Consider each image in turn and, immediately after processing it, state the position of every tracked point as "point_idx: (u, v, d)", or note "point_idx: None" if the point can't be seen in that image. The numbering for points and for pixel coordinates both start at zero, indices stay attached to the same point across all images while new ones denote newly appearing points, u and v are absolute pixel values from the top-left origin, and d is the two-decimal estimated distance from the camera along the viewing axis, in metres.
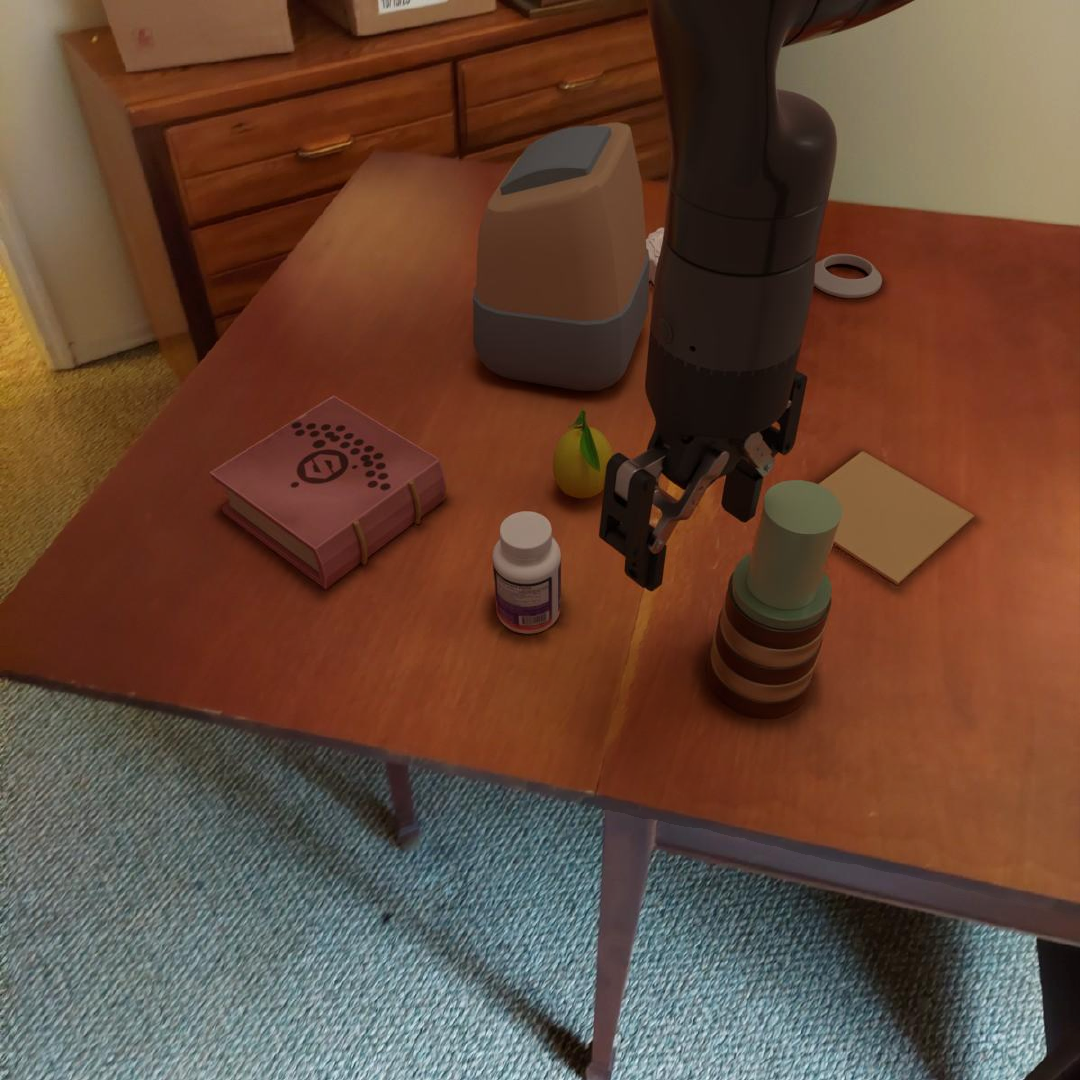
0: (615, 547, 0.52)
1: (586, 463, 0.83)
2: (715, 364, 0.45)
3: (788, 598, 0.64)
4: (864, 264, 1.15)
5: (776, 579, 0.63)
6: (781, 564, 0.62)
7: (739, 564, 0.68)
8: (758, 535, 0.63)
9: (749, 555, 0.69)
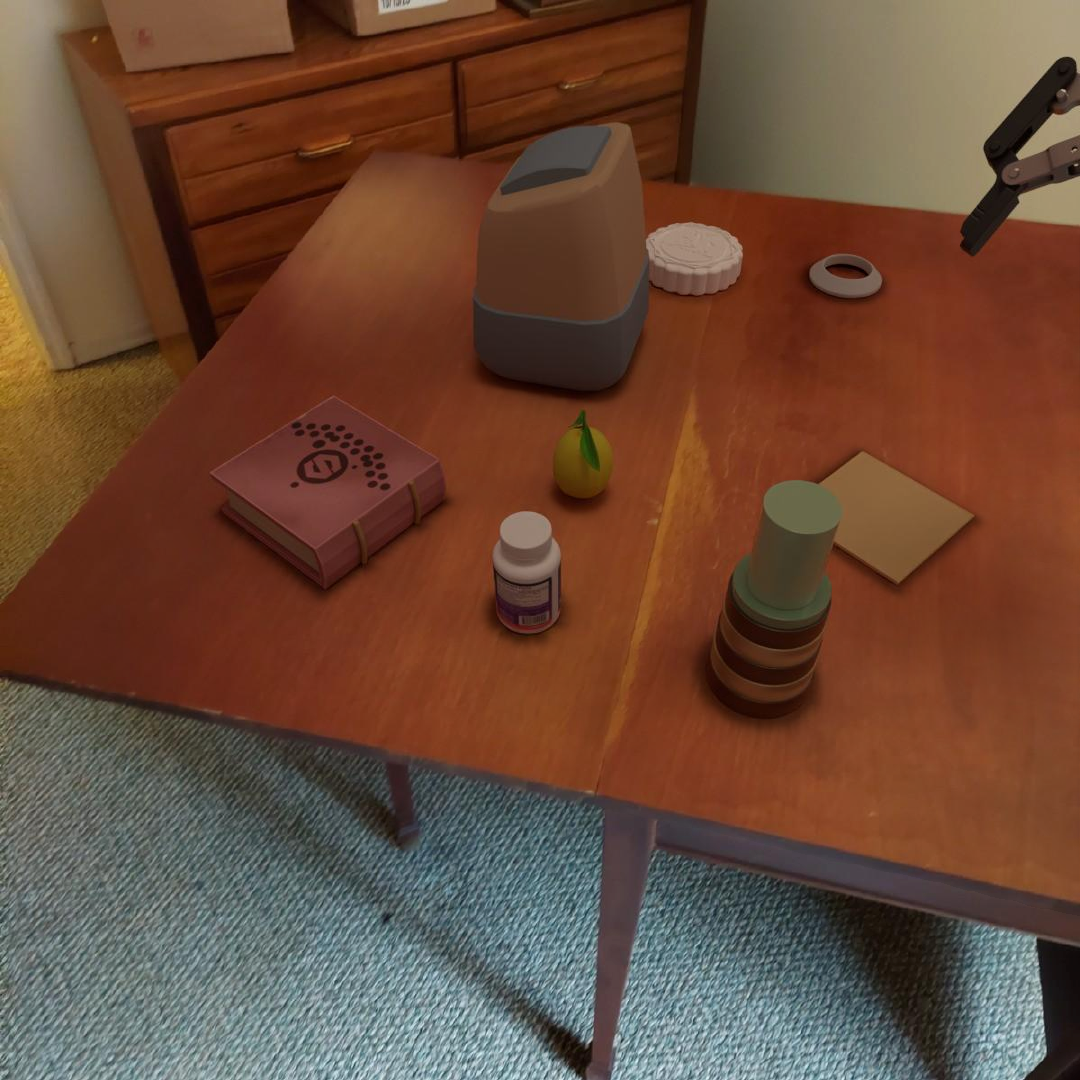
0: None
1: (586, 463, 0.83)
2: None
3: (788, 598, 0.64)
4: (864, 264, 1.15)
5: (776, 579, 0.63)
6: (781, 564, 0.62)
7: (739, 564, 0.68)
8: (758, 535, 0.63)
9: (749, 555, 0.69)
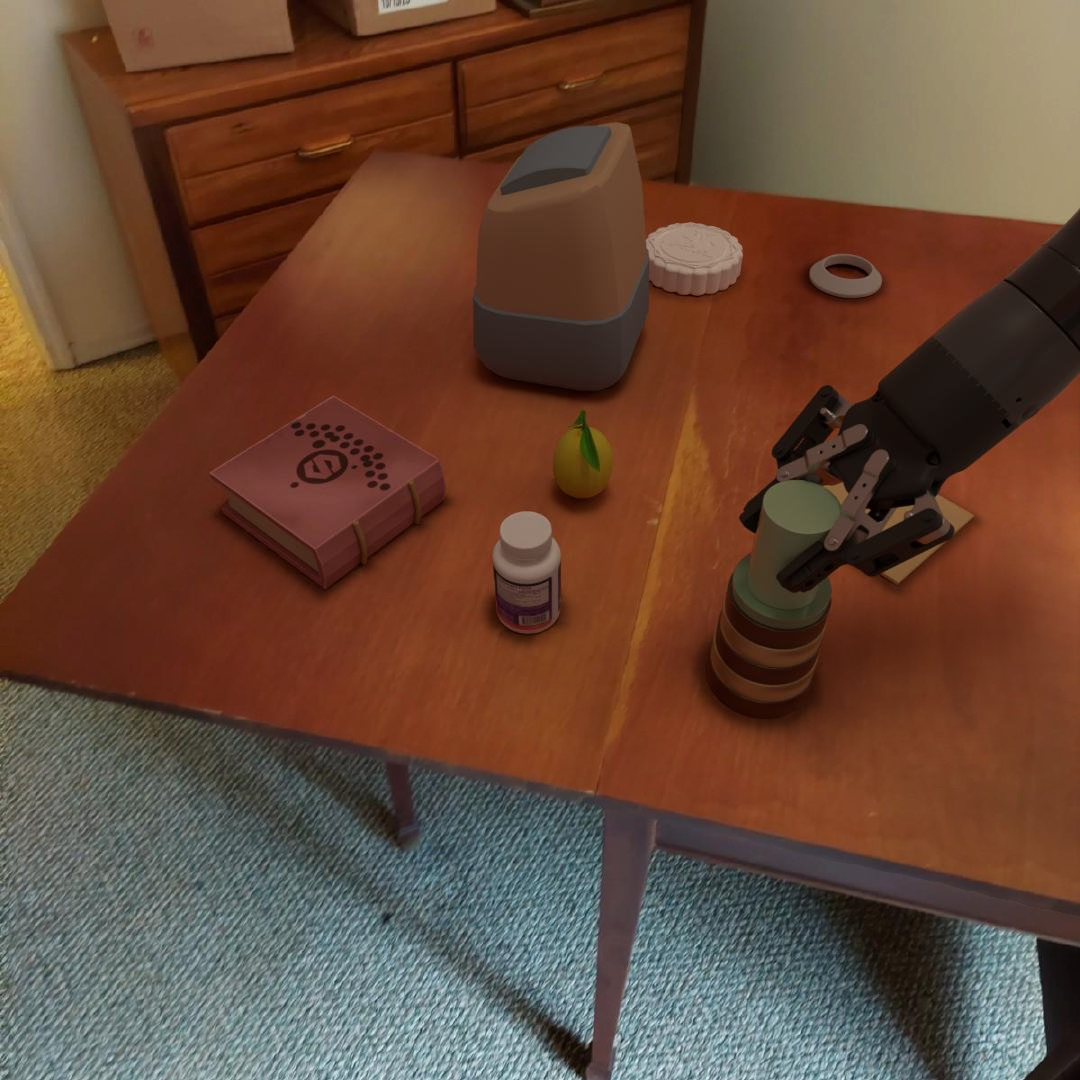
0: None
1: (586, 463, 0.83)
2: None
3: (788, 598, 0.64)
4: (864, 264, 1.15)
5: (775, 579, 0.63)
6: (781, 564, 0.62)
7: (739, 564, 0.68)
8: (758, 535, 0.63)
9: (749, 555, 0.69)
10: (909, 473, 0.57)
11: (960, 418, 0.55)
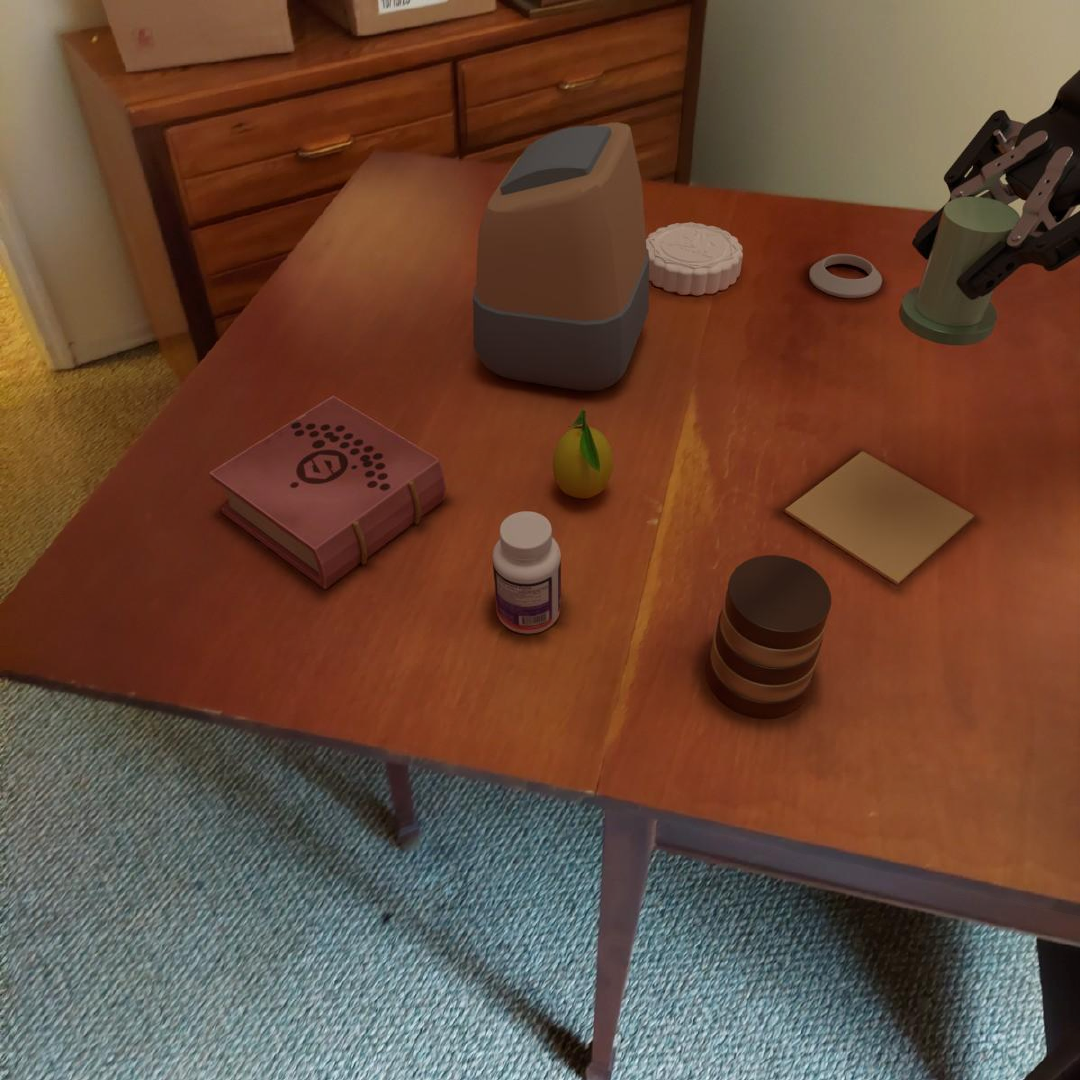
0: None
1: (586, 463, 0.83)
2: None
3: (961, 312, 0.68)
4: (864, 264, 1.15)
5: (952, 290, 0.68)
6: (960, 271, 0.66)
7: (906, 295, 0.72)
8: (936, 248, 0.67)
9: (914, 289, 0.73)
10: None
11: None
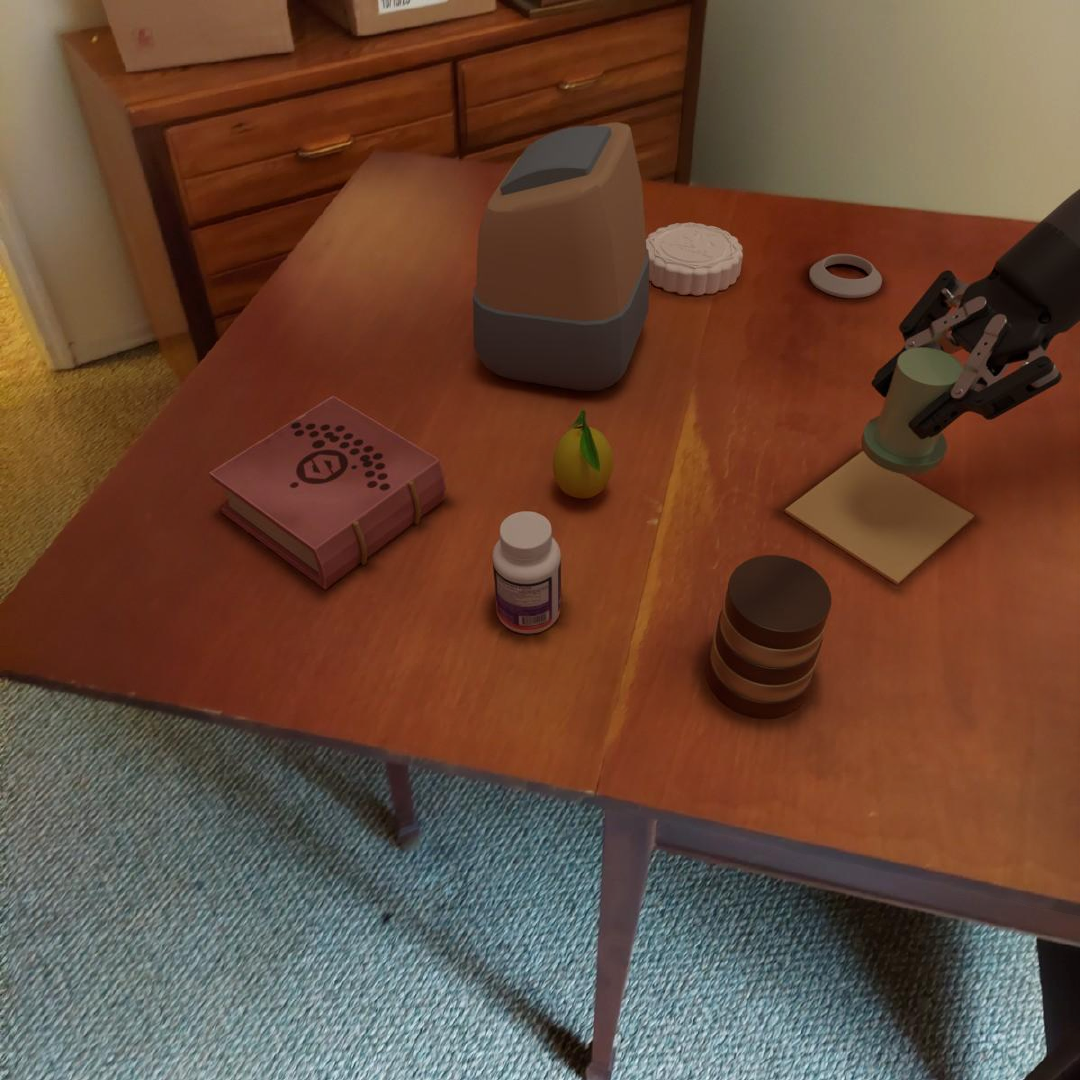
0: None
1: (586, 463, 0.83)
2: None
3: (914, 447, 0.78)
4: (864, 264, 1.15)
5: (905, 429, 0.77)
6: (911, 414, 0.76)
7: (867, 425, 0.82)
8: (891, 392, 0.77)
9: (875, 419, 0.82)
10: (1024, 331, 0.71)
11: (1068, 282, 0.69)
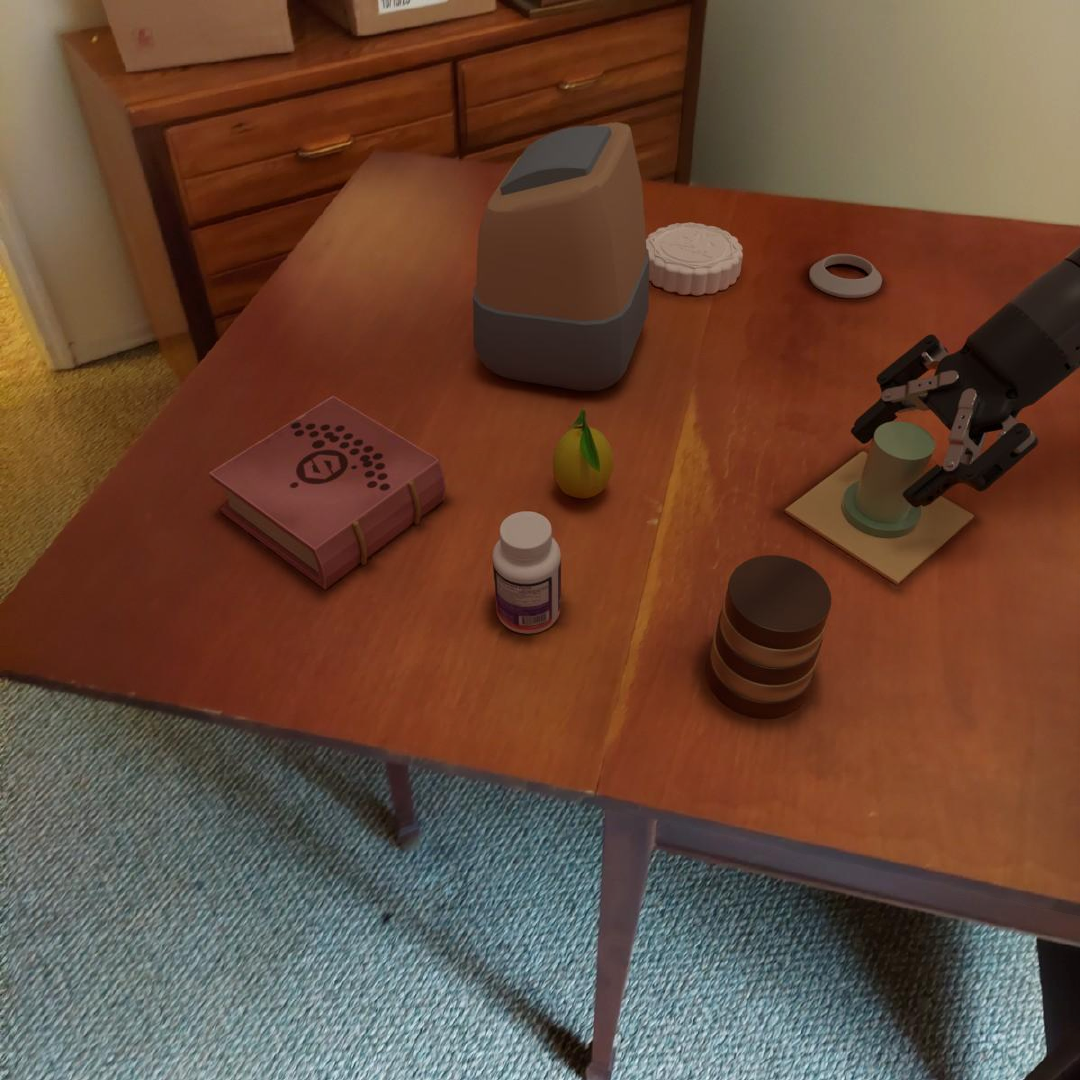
0: None
1: (586, 463, 0.83)
2: None
3: (890, 513, 0.83)
4: (864, 264, 1.15)
5: (881, 497, 0.82)
6: (887, 484, 0.81)
7: (847, 490, 0.87)
8: (868, 463, 0.82)
9: (854, 484, 0.88)
10: (992, 405, 0.76)
11: (1033, 362, 0.74)
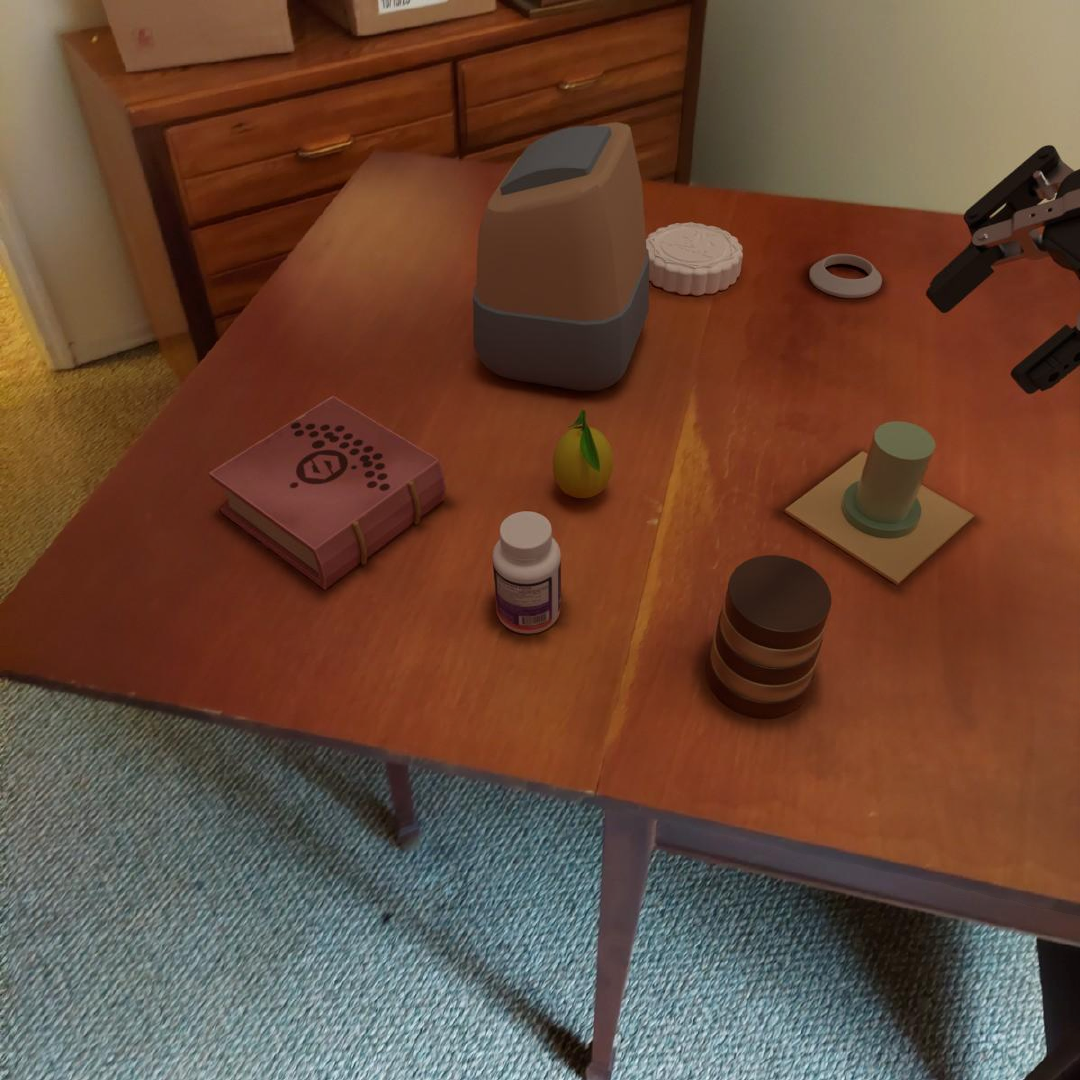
0: None
1: (586, 463, 0.83)
2: None
3: (890, 513, 0.83)
4: (864, 264, 1.15)
5: (881, 497, 0.82)
6: (887, 484, 0.81)
7: (847, 490, 0.87)
8: (868, 463, 0.82)
9: (854, 484, 0.88)
10: None
11: None
